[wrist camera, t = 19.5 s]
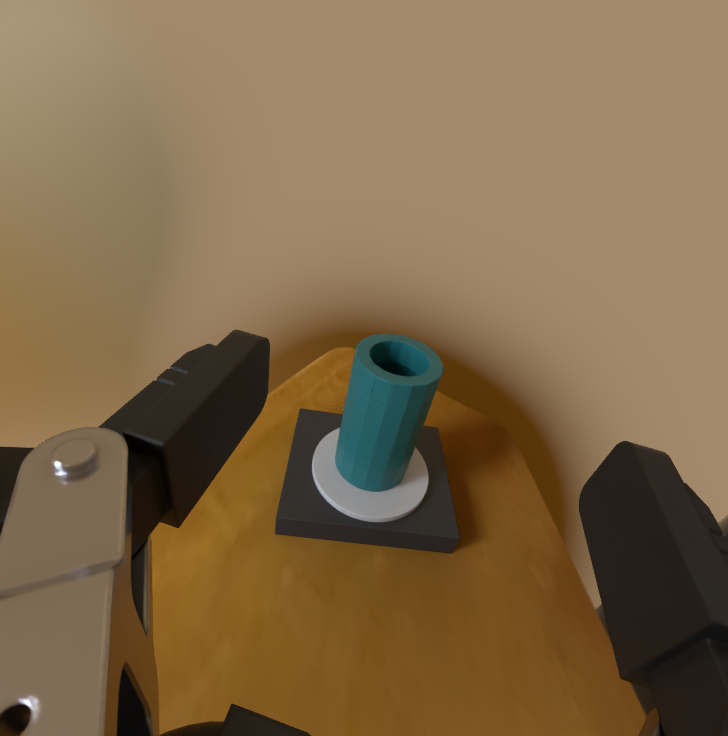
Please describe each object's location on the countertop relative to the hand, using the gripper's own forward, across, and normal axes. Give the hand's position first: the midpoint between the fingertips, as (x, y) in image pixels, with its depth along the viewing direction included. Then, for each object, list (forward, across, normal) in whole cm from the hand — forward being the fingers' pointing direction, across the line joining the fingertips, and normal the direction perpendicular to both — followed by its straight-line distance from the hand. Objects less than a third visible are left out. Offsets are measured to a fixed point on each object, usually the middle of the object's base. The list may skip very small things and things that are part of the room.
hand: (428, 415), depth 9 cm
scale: (+16, -1, -23) cm, 28 cm away
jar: (+16, -1, -20) cm, 26 cm away
